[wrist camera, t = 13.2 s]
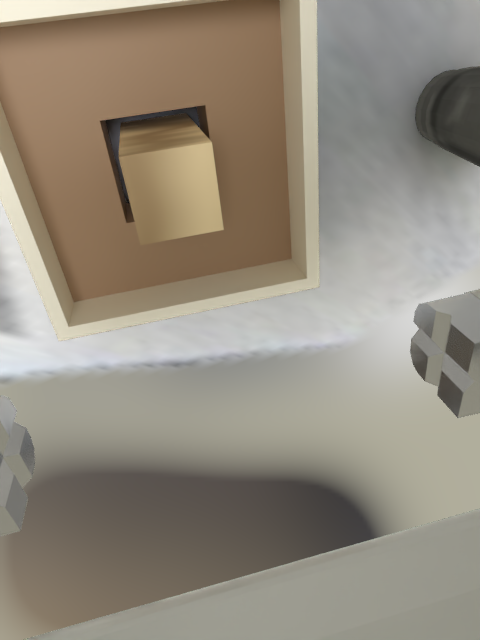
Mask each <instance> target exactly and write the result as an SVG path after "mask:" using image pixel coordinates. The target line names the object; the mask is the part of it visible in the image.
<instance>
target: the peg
mask: <svg viewBox="0 0 480 640" xmlns="http://www.w3.org/2000/svg"><path fill="white" fill-rule="evenodd" d="M119 161H120V165H121V169H122V173H123V177H124V181H125V185H126V189H127V193H128V197H129V201H130V205H131V209H132V213H133V217H134V221H135V225H136V229H137V233H138V237H139V241H140V245H145V244H150V243H156V242H161V241H167V240H172V239H177V238H183V237H188V236H193V235H199V234H204V233H210V232H215V231H220V230H224V228H223V220H222V213H221V205H220V198H219V191H218V183H217V176H216V168H215V161H214V153H213V146H212V142H211V141H210V139H209V138H208V137H207V136H206V135H205V134H204V133H203V132H202V131H201V129H200V128H199V127H198V126H197V125H196V124H195V123H194V122H193V121H192V119H191V118H190V117H189V116H188V115H187V114H186V113H182V114H175V115H168V116H162V117H155V118H148V119H142V120H135V121H128V122H122V123H121V126H120V142H119Z"/></svg>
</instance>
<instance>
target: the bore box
mask: <svg viewBox="0 0 480 640" xmlns="http://www.w3.org/2000/svg"><path fill="white" fill-rule="evenodd" d="M196 106H197V112H198V119H199V126H200V129H201V131H202V132H203V133H204V134H205V135H206V136H207V137H208V138H209V139H210V141H211V142H212V146H213V153H214V161H215V168H216V176H217V183H218V191H219V198H220V205H221V213H222V220H223V228H224V230H220V231H215V232H210V233H204V234H199V235H193V236H188V237H183V238H177V239H172V240H167V241H161V242H156V243H150V244H145V245H140V241H139V237H138V233H137V229H136V225H135V221H134V217H133V213H132V209H131V205H130V203H126V200H125V196H124V192H123V188H122V184H121V180H120V177H119V173H118V169H117V165H116V161H115V157H114V153H113V149H112V145H111V141H110V137H109V133H108V129H107V125H106V121H105V120H108V119H115V118H122V117H128V116H135V115H142V114H149V113H155V112H162V111H169V110H176V109H182V108H189V107H196ZM0 199H1V202H2V204H3V207H4V209H5V211H6V214H7V216H8V219H9V221H10V224H11V226H12V228H13V231H14V233H15V236H16V238H17V241H18V243H19V245H20V248H21V250H22V253H23V255H24V257H25V260H26V262H27V265H28V267H29V270H30V272H31V274H32V277H33V279H34V282H35V284H36V287H37V289H38V291H39V294H40V296H41V299H42V301H43V304H44V306H45V308H46V311H47V313H48V316H49V318H50V321H51V323H52V325H53V328H54V330H55V333H56V335H57V338H58V340H59V341H63V340H68V339H73V338H78V337H83V336H87V335H92V334H97V333H102V332H107V331H111V330H116V329H121V328H126V327H131V326H135V325H140V324H145V323H150V322H155V321H159V320H164V319H169V318H174V317H179V316H184V315H188V314H193V313H198V312H203V311H208V310H212V309H217V308H222V307H227V306H232V305H236V304H241V303H246V302H251V301H256V300H260V299H265V298H270V297H275V296H280V295H285V294H289V293H294V292H299V291H304V290H309V289H313V288H318V287H319V185H318V76H317V0H0Z"/></svg>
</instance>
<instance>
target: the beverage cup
mask: <svg viewBox="0 0 480 640" xmlns="http://www.w3.org/2000/svg"><path fill="white" fill-rule="evenodd" d="M415 119H416V124H417V128H418V130H419V131H420V133H421V135H422V136H423V137H425V138H426V139H428V140H430V141H433V143H435V144H436V145H438V146H440V147H441V148H443V149H445V150H447V151H449V152H451V153H453V154H455V155H457V156H459V157H461V158H463V159H465V160H467V161H469V162H471V163H473V164H475V165H477V166H479V167H480V66H478V67H468V68H464V69H459V70H450V71H445V72H443V73H441V74H439V75H438V76H436V77H434V78H433V79H432V80H431V81H430V82H429V83H428V84H427V85H426V87H425V89H424V90H423V92H422V94H421V95H420V97H419V100H418V103H417V107H416V117H415Z"/></svg>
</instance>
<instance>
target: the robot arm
mask: <svg viewBox="0 0 480 640" xmlns="http://www.w3.org/2000/svg"><path fill="white" fill-rule="evenodd" d="M414 323H415V324H416V325H417V326H418V328H419V330H418V331H417V332H416V334H415V335H414V336H413V338H412V339H411V349H410V353H411V357H412V362H413V365H414V367H415V369H416V371H417V372H418V374H419V375H420V376H421V377H422V378H423V380H424V381H426V382H428V383H431V384H433V385H436V386H438V397H439V398H440V399H441V400H442V401H443V402H444V403H445V404H446V405H447V407H448V408H449V409H450V410H451V411H452V412H453V413H454V414H455V415H456V417H457V418H460V417H464V416H469V415H473V414H478V413H480V289H479V290H475V291H470V292H466V293H464V294H462V295H457V296H453V297H448V298H444V299H439V300H435V301H431V302H426V303H422V304H419V305H418V307H417V309H416V311H415V316H414ZM16 412H17V410H16V409H15V407H14V405H13V404H12V402H11V400H10V399H9V398H8V397H5V396H3V395H2V396H0V536H4V535H7V534H11V533H14V532H18V531H20V530H21V526H22V522H23V518H24V513H25V508H26V504H27V499H28V497H27V495H26V494H25V492H24V490H23V487H24V486H25V485H26V484H27V482H28V481H29V480H30V479H31V478H32V476H33V471H34V466H35V456H34V446H33V443H32V439H31V436H30V435H29V433H28V431H27V429H26V428H25V427H23V426H21V425H19V424H17V423H15V422H14V419H15V415H16ZM24 640H480V509H476V510H473V511H469V512H466V513H462V514H459V515H455V516H452V517H448V518H445V519H442V520H438V521H435V522H431V523H428V524H424V525H421V526H417V527H414V528H410V529H407V530H403V531H400V532H396V533H393V534H389V535H386V536H382V537H379V538H376V539H372V540H369V541H365V542H362V543H358V544H355V545H351V546H348V547H345V548H341V549H337V550H334V551H331V552H327V553H324V554H320V555H316V556H313V557H309V558H306V559H303V560H299V561H296V562H293V563H289V564H285V565H282V566H279V567H275V568H271V569H268V570H264V571H261V572H257V573H254V574H250V575H247V576H243V577H240V578H236V579H233V580H229V581H226V582H223V583H219V584H215V585H212V586H208V587H205V588H202V589H198V590H195V591H191V592H188V593H184V594H181V595H177V596H174V597H170V598H167V599H163V600H160V601H156V602H153V603H149V604H146V605H142V606H139V607H135V608H132V609H128V610H126V611H121V612H118V613H114V614H111V615H108V616H104V617H101V618H97V619H94V620H90V621H87V622H83V623H80V624H76V625H73V626H69V627H66V628H62V629H59V630H55V631H52V632H48V633H45V634H42V635H38V636H34V637H31V638H27V639H24Z"/></svg>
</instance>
